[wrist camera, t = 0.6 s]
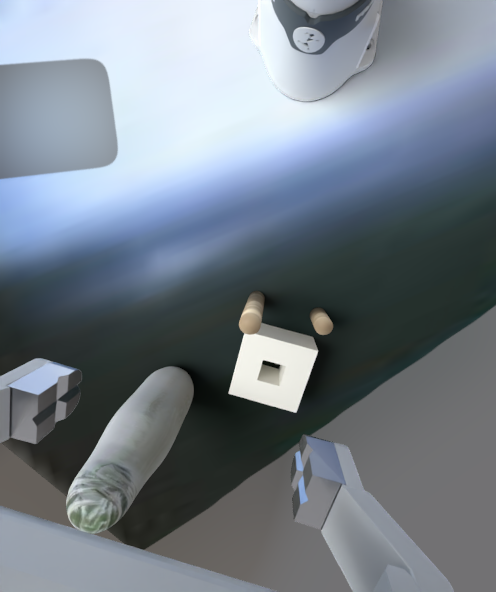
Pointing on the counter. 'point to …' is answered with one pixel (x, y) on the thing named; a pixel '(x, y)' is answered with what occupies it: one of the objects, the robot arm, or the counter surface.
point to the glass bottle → (130, 450)
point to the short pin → (321, 321)
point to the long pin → (252, 313)
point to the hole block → (268, 380)
